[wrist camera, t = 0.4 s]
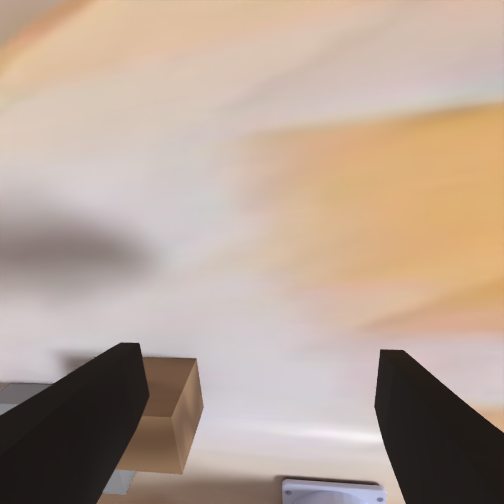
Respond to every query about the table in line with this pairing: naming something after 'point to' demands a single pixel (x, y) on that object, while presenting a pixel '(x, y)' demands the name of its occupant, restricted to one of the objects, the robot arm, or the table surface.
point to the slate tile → (22, 392)
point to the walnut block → (166, 417)
